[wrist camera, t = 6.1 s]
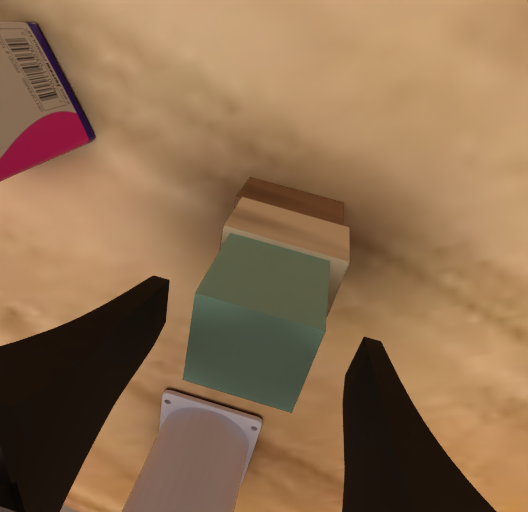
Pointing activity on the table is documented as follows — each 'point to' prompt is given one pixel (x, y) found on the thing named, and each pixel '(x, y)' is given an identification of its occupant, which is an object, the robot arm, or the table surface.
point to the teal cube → (258, 322)
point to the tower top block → (293, 235)
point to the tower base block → (292, 200)
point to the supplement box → (34, 102)
